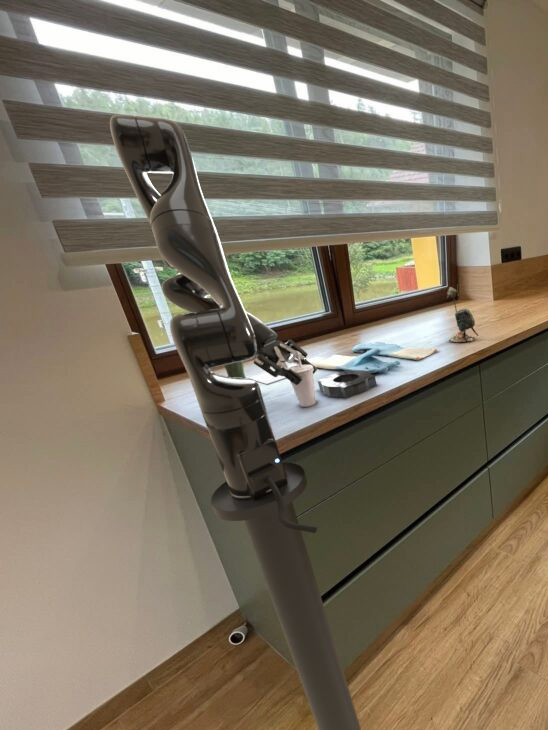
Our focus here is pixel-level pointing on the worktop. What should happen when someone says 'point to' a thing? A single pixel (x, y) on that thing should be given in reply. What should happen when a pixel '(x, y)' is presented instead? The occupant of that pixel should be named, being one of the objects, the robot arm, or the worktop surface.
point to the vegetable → (235, 370)
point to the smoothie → (304, 384)
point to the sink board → (347, 383)
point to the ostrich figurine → (462, 321)
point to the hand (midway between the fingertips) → (307, 376)
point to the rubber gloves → (371, 363)
